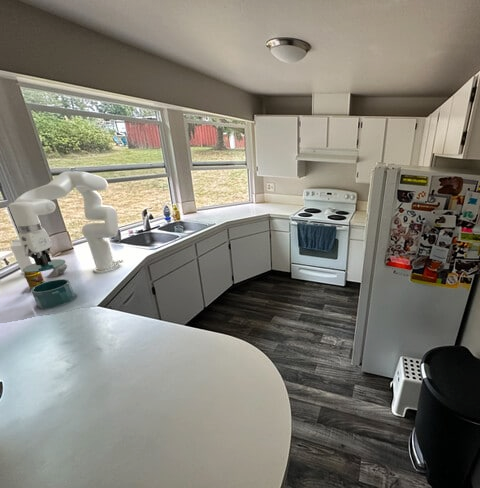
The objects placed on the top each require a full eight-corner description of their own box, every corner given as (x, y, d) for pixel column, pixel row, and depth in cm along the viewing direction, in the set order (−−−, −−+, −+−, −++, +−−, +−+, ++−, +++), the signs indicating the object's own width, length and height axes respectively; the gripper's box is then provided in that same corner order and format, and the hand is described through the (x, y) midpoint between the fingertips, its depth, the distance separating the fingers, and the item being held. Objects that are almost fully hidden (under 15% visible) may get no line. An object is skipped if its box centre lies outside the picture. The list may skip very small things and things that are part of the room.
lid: (62, 258, 135) (58, 247, 132) (69, 266, 127) (65, 254, 124) (21, 268, 123) (15, 255, 121) (26, 276, 115) (20, 263, 113)
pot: (70, 290, 141) (64, 275, 138) (79, 301, 131) (73, 286, 128) (34, 300, 131) (27, 285, 128) (42, 314, 121) (34, 297, 117)
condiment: (44, 288, 142) (37, 270, 138) (23, 293, 137) (14, 273, 133) (48, 283, 148) (41, 265, 143) (28, 287, 143) (19, 268, 139)
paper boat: (54, 277, 153) (37, 273, 151) (60, 281, 158) (44, 278, 157) (69, 260, 160) (53, 257, 159) (74, 265, 165) (59, 262, 164)
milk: (35, 272, 159) (22, 240, 152) (22, 274, 157) (8, 241, 149) (41, 268, 164) (28, 237, 157) (28, 270, 162) (14, 238, 154)
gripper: (23, 233, 111) (38, 270, 117) (53, 223, 126) (65, 256, 132) (2, 233, 110) (19, 271, 116) (36, 223, 125) (49, 257, 131)
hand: (44, 263), depth 124 cm, fingers closed on lid, 3 cm apart
